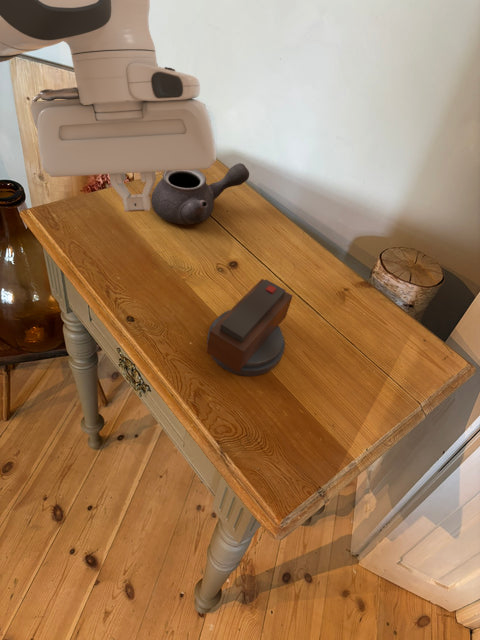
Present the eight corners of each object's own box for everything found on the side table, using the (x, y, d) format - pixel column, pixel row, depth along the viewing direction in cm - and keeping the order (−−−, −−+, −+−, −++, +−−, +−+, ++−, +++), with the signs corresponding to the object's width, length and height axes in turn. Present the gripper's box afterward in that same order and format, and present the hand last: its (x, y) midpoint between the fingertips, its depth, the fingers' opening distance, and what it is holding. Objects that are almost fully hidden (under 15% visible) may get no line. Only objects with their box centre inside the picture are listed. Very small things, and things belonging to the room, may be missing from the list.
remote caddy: (252, 386, 65) (262, 355, 60) (190, 347, 68) (194, 313, 63) (298, 329, 74) (310, 297, 68) (241, 296, 77) (249, 263, 72)
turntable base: (191, 348, 70) (192, 342, 69) (234, 305, 78) (236, 299, 77) (257, 390, 67) (259, 384, 66) (295, 341, 74) (298, 335, 73)
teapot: (170, 244, 86) (173, 198, 78) (142, 197, 94) (142, 151, 87) (257, 226, 93) (267, 183, 86) (224, 185, 102) (230, 142, 94)
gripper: (13, 90, 48) (45, 220, 55) (207, 78, 47) (217, 212, 53) (38, 90, 54) (65, 208, 60) (212, 79, 53) (221, 200, 59)
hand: (138, 210), depth 57 cm, fingers closed
